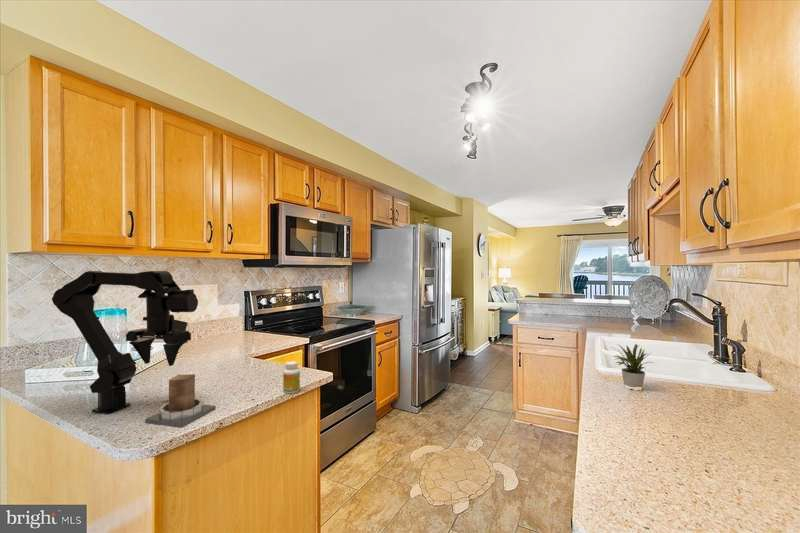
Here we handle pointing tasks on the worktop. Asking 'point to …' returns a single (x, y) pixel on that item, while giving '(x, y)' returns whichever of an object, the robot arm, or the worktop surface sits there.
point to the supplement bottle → (291, 378)
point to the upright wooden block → (181, 392)
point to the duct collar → (180, 414)
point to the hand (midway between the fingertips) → (159, 364)
